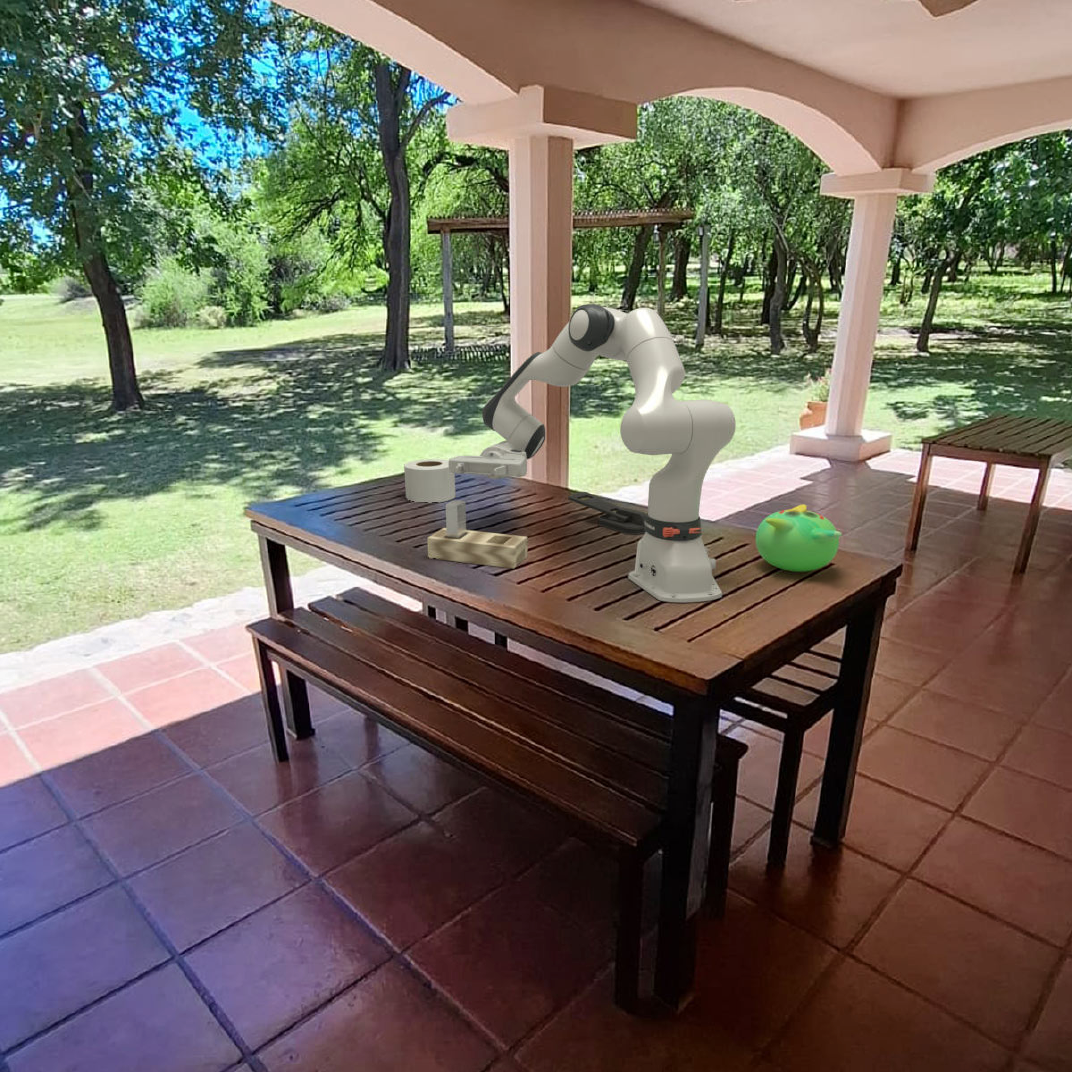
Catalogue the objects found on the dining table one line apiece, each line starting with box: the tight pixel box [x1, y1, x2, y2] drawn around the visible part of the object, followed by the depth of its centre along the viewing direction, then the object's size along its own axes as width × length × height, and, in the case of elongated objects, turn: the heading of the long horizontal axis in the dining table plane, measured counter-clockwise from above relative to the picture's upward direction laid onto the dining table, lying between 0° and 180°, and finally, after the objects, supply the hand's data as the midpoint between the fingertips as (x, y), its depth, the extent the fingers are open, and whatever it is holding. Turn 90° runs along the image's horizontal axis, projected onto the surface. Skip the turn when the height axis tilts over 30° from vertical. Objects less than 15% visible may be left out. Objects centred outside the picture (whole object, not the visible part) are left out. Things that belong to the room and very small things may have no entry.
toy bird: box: [755, 503, 843, 573], centre depth 169 cm, size 18×17×15 cm
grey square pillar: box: [445, 499, 467, 539], centre depth 178 cm, size 3×4×13 cm, turn 160°
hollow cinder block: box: [426, 527, 528, 569], centre depth 177 cm, size 22×9×5 cm, turn 71°
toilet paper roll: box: [403, 458, 456, 504], centre depth 231 cm, size 16×15×11 cm
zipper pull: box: [568, 491, 647, 536], centre depth 205 cm, size 9×7×25 cm
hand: (475, 471), depth 185 cm, fingers open, 8 cm apart
